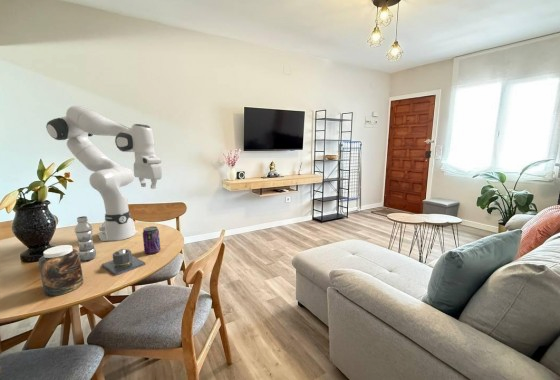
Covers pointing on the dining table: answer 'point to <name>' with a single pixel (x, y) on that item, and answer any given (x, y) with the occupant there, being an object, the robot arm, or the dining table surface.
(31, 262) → the dining table surface
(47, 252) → the jar
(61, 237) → the dining table surface
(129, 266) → the post stand
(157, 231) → the beverage can
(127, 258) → the octagonal nut
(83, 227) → the plastic bottle
